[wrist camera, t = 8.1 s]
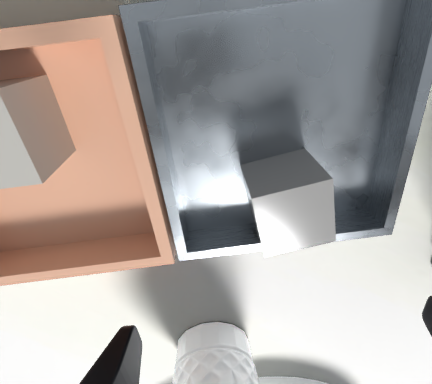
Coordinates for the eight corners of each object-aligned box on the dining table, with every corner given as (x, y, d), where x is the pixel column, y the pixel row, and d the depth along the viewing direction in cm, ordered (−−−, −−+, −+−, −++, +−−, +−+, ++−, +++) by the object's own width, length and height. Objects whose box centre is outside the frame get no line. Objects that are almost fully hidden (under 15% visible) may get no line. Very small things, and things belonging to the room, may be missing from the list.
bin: (419, -27, 13) (463, -39, 11) (370, 212, 20) (391, 234, 18) (131, 9, 13) (118, 5, 11) (180, 236, 20) (179, 261, 18)
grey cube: (304, 148, 17) (333, 178, 13) (310, 202, 19) (336, 241, 15) (240, 164, 17) (251, 198, 14) (251, 216, 19) (264, 257, 16)
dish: (128, 17, 13) (112, 14, 11) (177, 233, 20) (174, 263, 17) (-145, 52, 13) (-227, 57, 11) (-6, 256, 20) (-36, 290, 17)
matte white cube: (46, 74, 14) (-3, 88, 10) (76, 150, 16) (42, 183, 12) (-34, 84, 14) (-111, 102, 10) (5, 159, 16) (-48, 194, 12)
